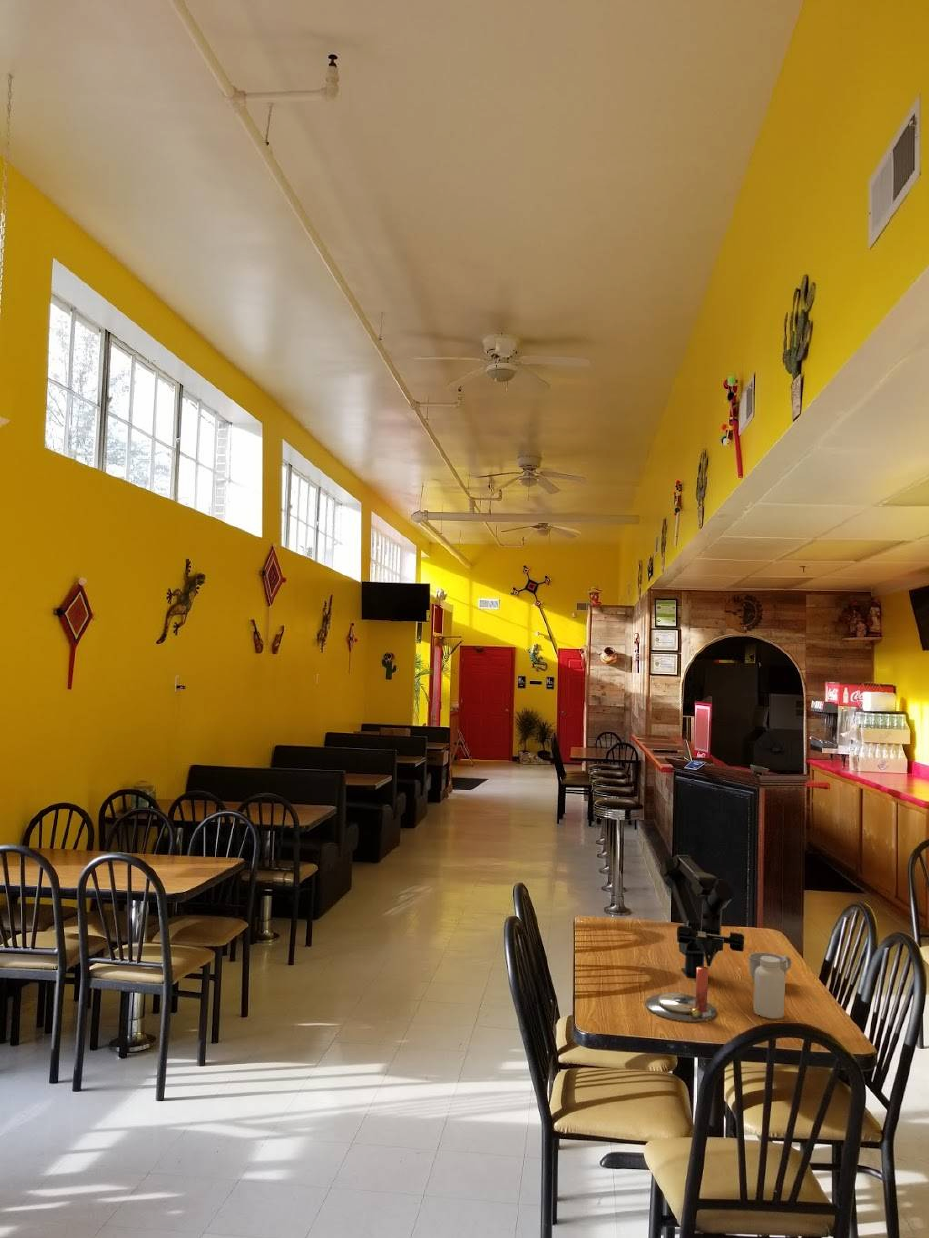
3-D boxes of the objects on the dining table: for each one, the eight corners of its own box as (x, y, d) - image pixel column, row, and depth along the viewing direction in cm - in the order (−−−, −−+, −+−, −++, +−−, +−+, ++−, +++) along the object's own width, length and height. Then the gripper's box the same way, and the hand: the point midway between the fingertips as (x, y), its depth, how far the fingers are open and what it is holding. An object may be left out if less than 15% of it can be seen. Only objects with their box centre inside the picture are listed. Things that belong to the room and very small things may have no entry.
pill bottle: (772, 1021, 242) (774, 965, 243) (747, 1011, 249) (748, 956, 249) (789, 1016, 247) (791, 960, 248) (764, 1006, 253) (766, 952, 254)
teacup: (759, 989, 267) (760, 962, 267) (741, 977, 277) (742, 950, 278) (802, 988, 269) (803, 961, 270) (782, 976, 280) (783, 950, 280)
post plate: (637, 995, 257) (638, 984, 258) (703, 996, 258) (703, 985, 259) (655, 1021, 238) (656, 1009, 239) (726, 1023, 240) (726, 1011, 240)
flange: (649, 1002, 250) (650, 957, 251) (678, 994, 257) (679, 951, 258) (691, 1020, 238) (693, 973, 238) (721, 1012, 245) (722, 966, 245)
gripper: (743, 934, 269) (742, 984, 258) (679, 925, 274) (675, 974, 264) (744, 914, 262) (743, 965, 251) (678, 906, 267) (674, 955, 256)
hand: (708, 965), depth 256 cm, fingers closed
